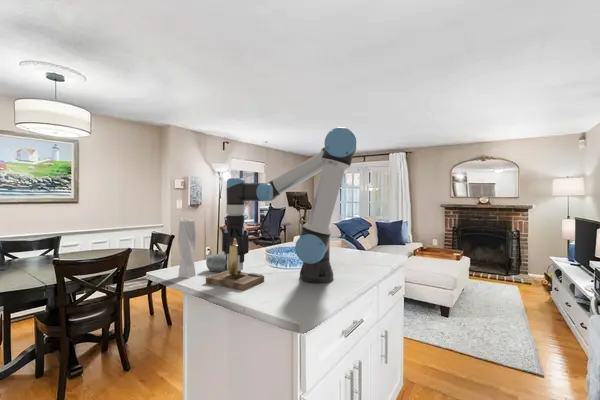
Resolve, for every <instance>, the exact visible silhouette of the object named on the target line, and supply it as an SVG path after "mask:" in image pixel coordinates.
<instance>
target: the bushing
mask: <svg viewBox="0 0 600 400" xmlns="http://www.w3.org/2000/svg"><path fill="white" fill-rule="evenodd" d="M238 254H239V250H238V245H237V243H233V244H232V245H229V274H231V275H237V274H241V272H242V270H240V271H237V265H238Z"/></svg>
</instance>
